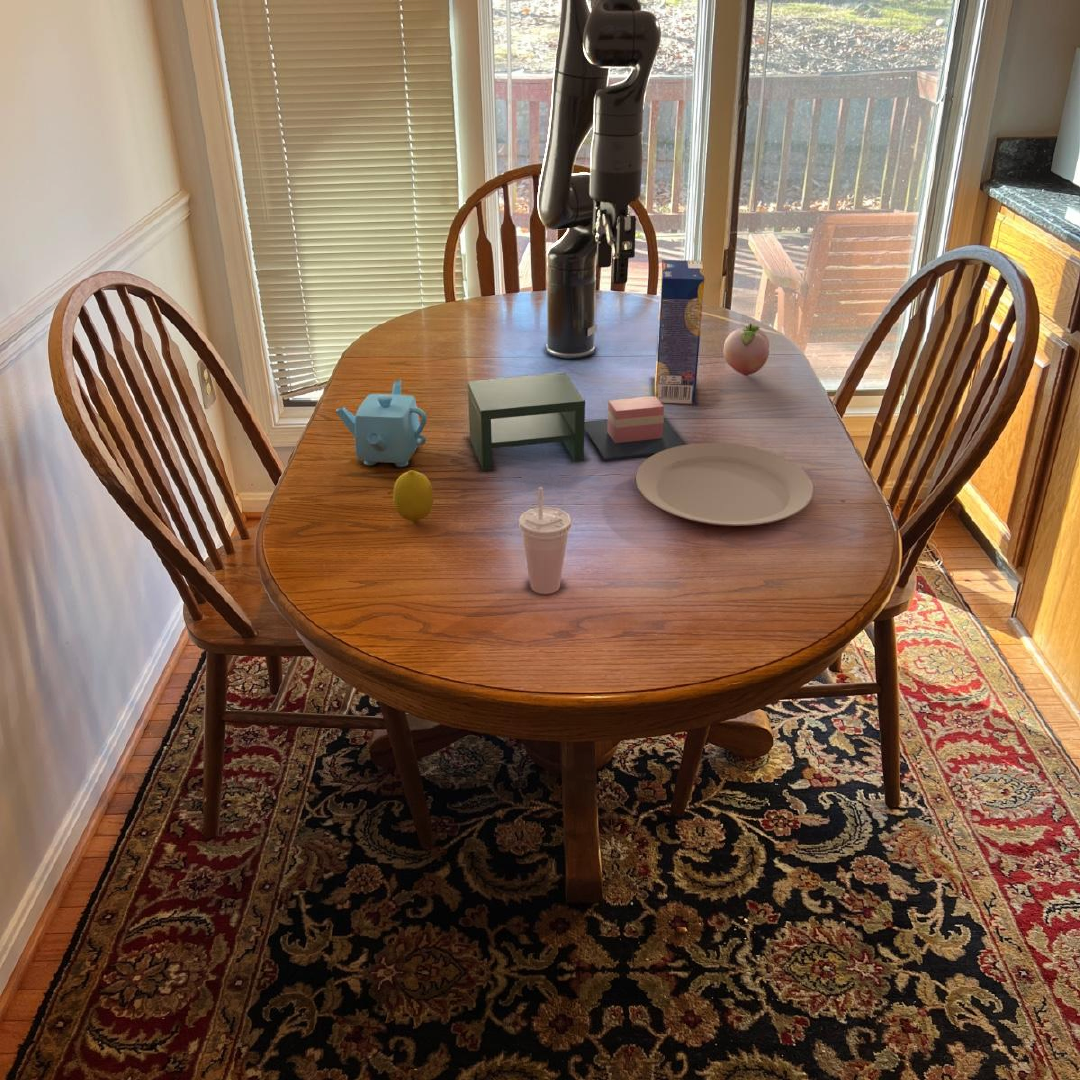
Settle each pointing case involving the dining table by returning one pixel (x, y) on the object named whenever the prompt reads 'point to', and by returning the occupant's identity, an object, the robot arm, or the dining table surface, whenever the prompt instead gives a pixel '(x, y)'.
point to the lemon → (413, 496)
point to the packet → (635, 419)
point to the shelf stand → (525, 414)
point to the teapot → (386, 427)
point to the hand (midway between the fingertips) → (611, 274)
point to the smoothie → (545, 545)
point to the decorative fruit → (746, 349)
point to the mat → (629, 449)
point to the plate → (724, 484)
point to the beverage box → (678, 330)
